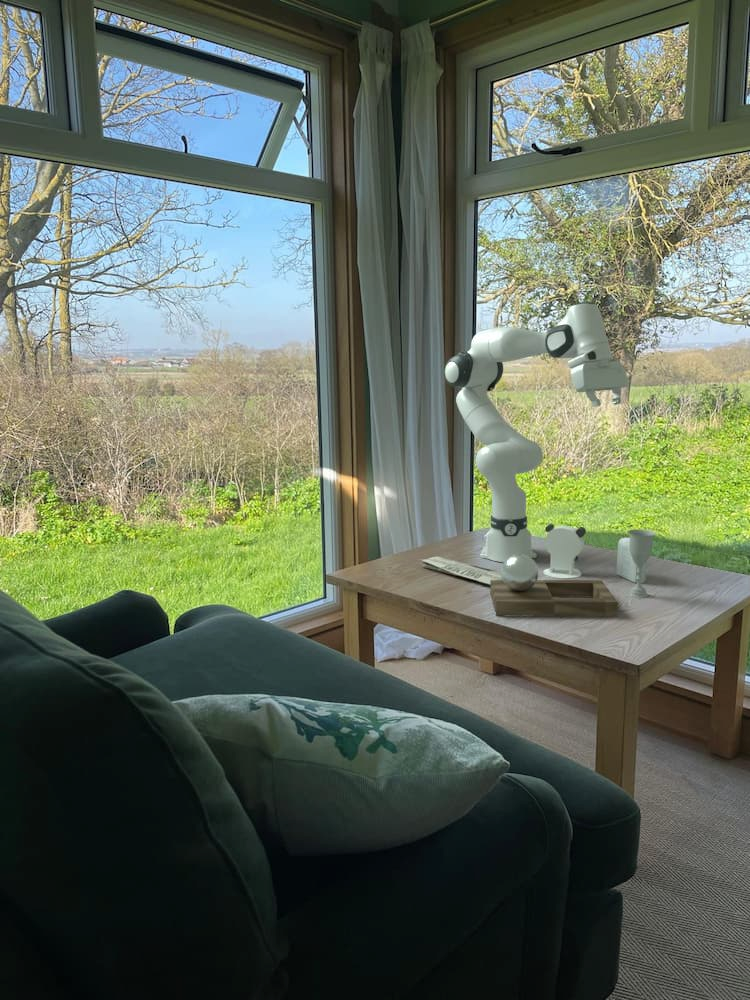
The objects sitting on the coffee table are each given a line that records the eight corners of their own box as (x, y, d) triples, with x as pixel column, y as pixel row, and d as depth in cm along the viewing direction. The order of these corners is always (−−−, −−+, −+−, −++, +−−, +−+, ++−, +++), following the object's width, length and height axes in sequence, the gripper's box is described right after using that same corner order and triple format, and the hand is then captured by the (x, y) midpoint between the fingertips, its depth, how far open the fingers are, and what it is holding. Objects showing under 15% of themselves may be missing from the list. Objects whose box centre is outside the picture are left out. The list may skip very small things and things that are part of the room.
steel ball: (498, 584, 200) (499, 549, 198) (535, 584, 199) (535, 549, 197) (502, 596, 190) (502, 559, 188) (540, 596, 189) (541, 559, 187)
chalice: (619, 592, 203) (622, 531, 199) (638, 589, 205) (642, 528, 201) (637, 600, 196) (640, 536, 192) (657, 597, 198) (660, 534, 195)
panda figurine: (586, 570, 223) (588, 524, 220) (579, 581, 214) (581, 532, 211) (548, 566, 229) (549, 520, 226) (539, 576, 219) (540, 528, 216)
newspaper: (529, 584, 213) (529, 572, 213) (504, 594, 205) (504, 582, 204) (440, 562, 238) (440, 551, 238) (414, 570, 230) (414, 559, 229)
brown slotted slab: (490, 593, 205) (490, 579, 204) (600, 593, 202) (601, 580, 201) (495, 615, 187) (496, 601, 186) (617, 616, 185) (617, 601, 184)
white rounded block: (648, 582, 211) (650, 542, 208) (635, 584, 209) (637, 543, 207) (626, 573, 220) (628, 534, 218) (614, 574, 219) (616, 535, 217)
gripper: (609, 360, 209) (620, 406, 208) (563, 362, 197) (575, 410, 196) (627, 353, 204) (639, 399, 203) (581, 354, 192) (593, 404, 191)
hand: (607, 405), depth 200 cm, fingers open, 8 cm apart
